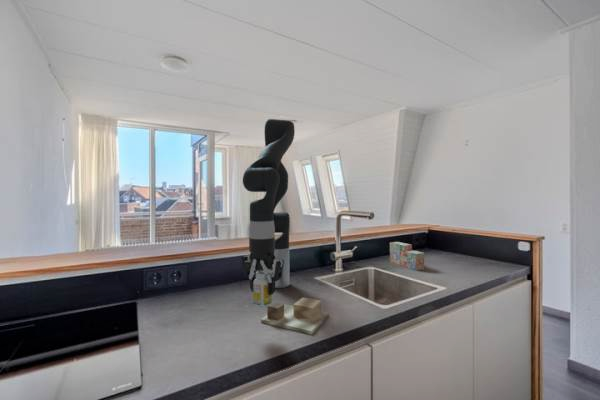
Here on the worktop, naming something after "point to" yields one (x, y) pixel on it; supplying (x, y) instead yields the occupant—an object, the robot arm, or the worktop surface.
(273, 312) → the walnut block
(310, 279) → the worktop surface
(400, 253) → the stack of blocks
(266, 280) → the supplement bottle
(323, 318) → the birch board
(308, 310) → the oak pedestal
